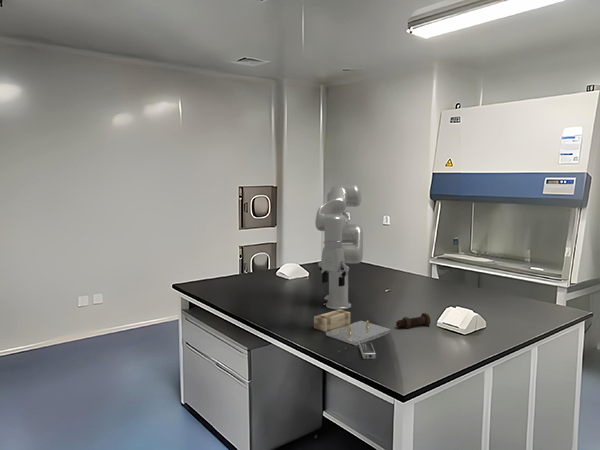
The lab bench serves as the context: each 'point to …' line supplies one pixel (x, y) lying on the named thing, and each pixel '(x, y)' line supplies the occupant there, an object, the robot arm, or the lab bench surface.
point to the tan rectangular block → (331, 320)
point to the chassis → (358, 332)
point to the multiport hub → (367, 351)
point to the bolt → (414, 321)
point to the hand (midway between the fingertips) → (333, 284)
